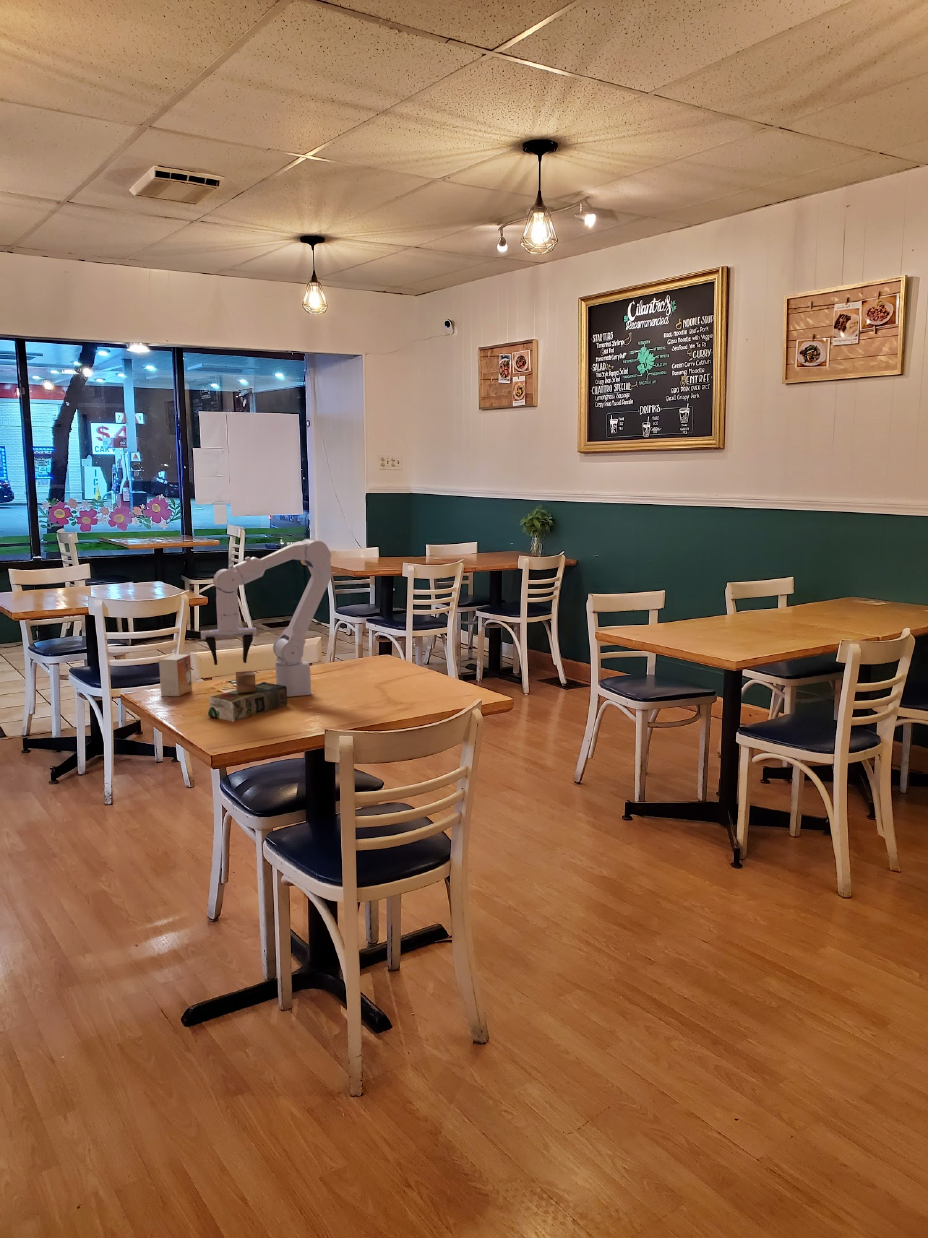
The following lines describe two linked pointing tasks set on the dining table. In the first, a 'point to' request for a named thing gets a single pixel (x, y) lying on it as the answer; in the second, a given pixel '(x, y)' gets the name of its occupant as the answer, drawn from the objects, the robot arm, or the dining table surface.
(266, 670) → the dining table surface
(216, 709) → the juice carton
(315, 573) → the robot arm
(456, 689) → the dining table surface
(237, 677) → the greyish beige block
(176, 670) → the small box
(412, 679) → the dining table surface
